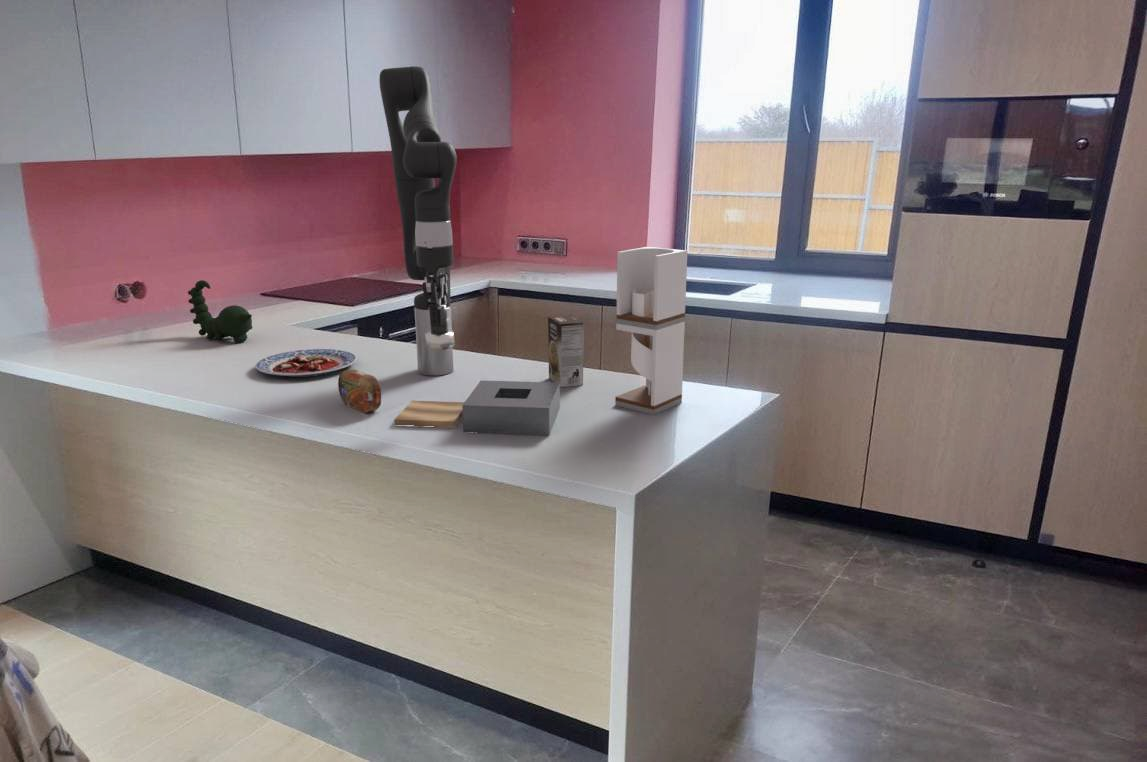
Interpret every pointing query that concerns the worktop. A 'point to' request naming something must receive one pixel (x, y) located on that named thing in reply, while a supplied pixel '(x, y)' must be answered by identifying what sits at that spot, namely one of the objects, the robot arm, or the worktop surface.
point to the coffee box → (565, 350)
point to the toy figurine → (219, 317)
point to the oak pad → (431, 414)
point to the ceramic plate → (306, 362)
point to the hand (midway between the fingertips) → (438, 324)
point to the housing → (512, 408)
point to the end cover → (440, 334)
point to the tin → (359, 390)
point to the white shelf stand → (653, 323)
